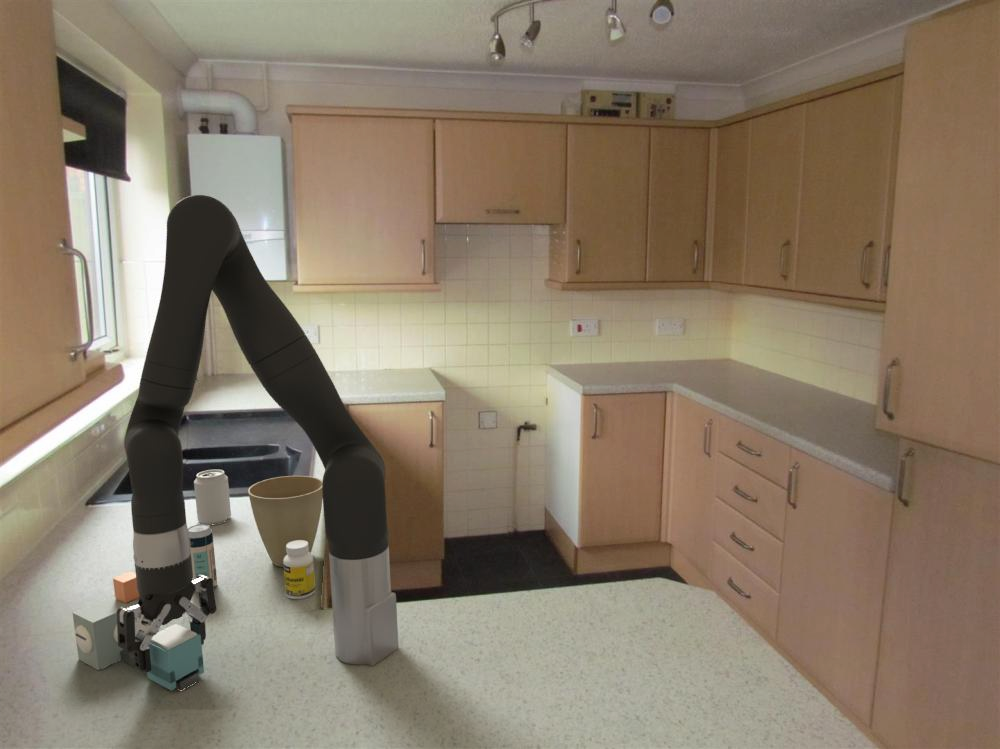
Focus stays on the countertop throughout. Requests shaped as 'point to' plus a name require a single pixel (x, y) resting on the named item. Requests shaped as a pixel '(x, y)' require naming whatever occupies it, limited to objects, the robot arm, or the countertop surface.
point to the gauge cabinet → (100, 632)
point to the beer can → (202, 552)
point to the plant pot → (286, 512)
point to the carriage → (174, 655)
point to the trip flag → (126, 587)
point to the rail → (180, 683)
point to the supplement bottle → (299, 570)
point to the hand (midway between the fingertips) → (172, 656)
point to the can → (212, 497)
